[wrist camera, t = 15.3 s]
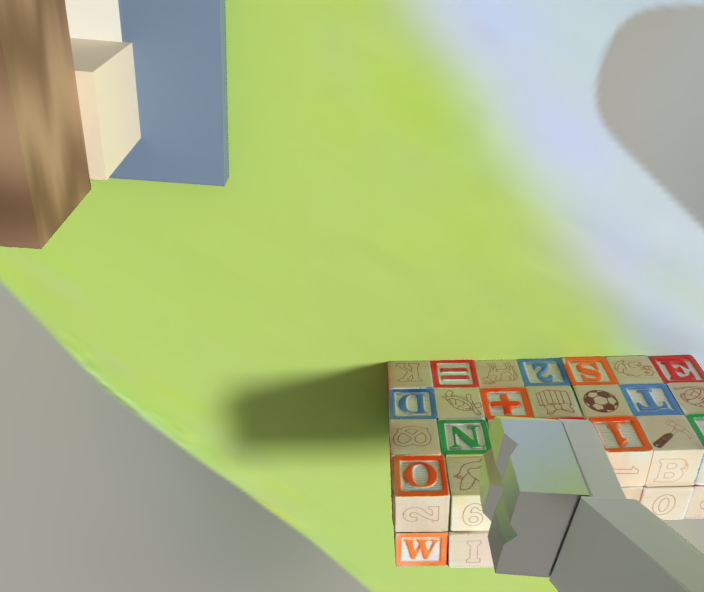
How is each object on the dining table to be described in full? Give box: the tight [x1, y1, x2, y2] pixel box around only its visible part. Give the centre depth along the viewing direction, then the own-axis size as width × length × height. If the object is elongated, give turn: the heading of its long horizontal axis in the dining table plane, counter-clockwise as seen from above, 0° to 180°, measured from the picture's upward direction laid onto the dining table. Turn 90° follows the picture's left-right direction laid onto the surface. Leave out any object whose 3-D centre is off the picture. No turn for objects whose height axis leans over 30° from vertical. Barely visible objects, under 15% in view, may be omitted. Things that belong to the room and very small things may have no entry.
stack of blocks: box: [387, 355, 704, 568], centre depth 43 cm, size 21×6×12 cm, turn 92°
